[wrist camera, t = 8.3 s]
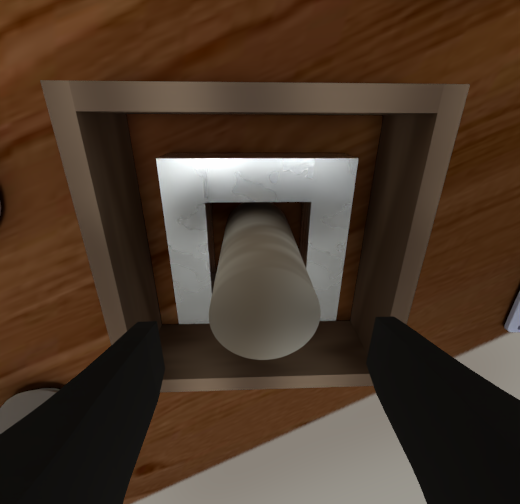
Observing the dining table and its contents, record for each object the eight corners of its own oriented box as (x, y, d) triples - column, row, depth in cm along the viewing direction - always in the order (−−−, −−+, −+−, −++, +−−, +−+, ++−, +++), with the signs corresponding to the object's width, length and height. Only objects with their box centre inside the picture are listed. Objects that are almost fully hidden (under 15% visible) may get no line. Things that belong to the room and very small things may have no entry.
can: (114, 398, 24) (6, 626, 13) (89, 449, 27) (-20, 675, 16) (19, 368, 23) (-195, 602, 12) (1, 425, 25) (-188, 661, 14)
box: (405, 94, 16) (469, 84, 11) (361, 331, 22) (390, 385, 18) (102, 92, 15) (40, 80, 10) (150, 335, 22) (124, 393, 17)
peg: (292, 202, 18) (330, 272, 10) (284, 260, 20) (310, 361, 11) (227, 196, 18) (210, 264, 9) (224, 256, 19) (207, 357, 11)
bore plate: (343, 153, 17) (358, 158, 14) (326, 298, 21) (335, 320, 19) (168, 153, 16) (155, 158, 14) (186, 301, 21) (178, 324, 18)
